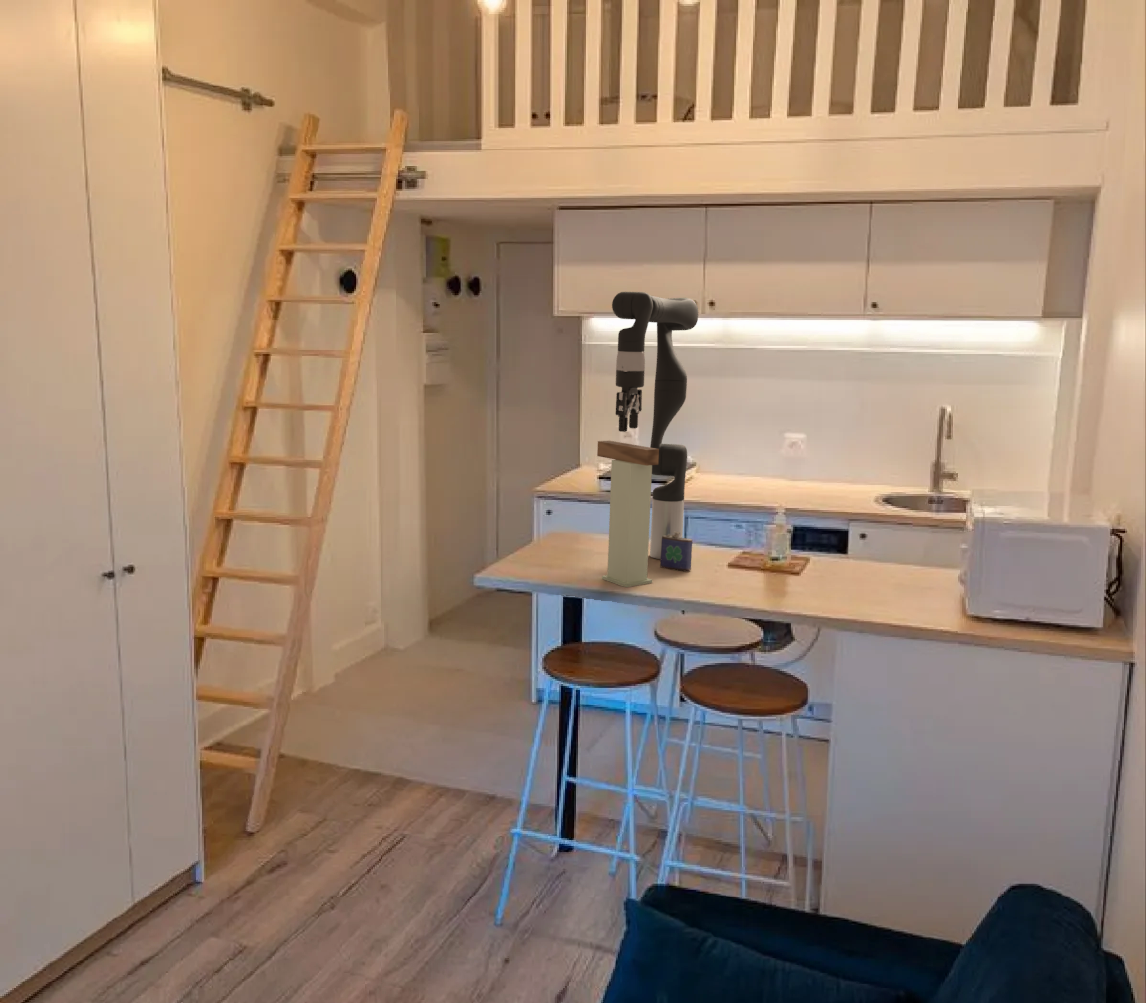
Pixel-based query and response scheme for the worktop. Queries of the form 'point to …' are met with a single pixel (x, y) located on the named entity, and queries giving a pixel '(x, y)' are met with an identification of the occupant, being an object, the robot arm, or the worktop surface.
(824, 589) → the worktop surface
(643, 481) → the stand
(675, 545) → the flask
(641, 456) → the rail
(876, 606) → the worktop surface
